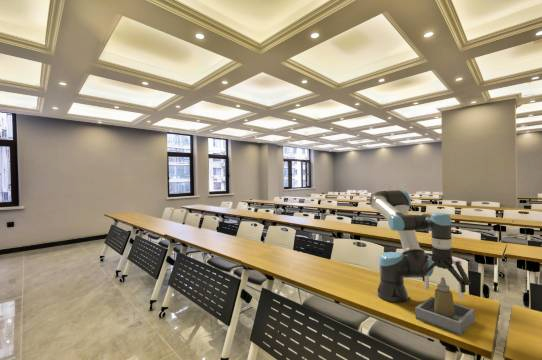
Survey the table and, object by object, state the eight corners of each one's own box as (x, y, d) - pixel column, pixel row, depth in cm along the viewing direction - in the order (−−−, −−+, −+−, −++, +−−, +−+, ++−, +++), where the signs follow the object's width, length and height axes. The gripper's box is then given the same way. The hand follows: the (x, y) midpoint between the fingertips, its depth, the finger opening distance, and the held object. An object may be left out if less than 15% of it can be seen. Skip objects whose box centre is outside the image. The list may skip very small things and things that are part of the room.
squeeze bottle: (436, 321, 113) (434, 280, 114) (432, 312, 121) (430, 274, 121) (458, 323, 110) (456, 282, 111) (452, 314, 118) (450, 275, 118)
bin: (415, 318, 117) (415, 307, 117) (432, 306, 128) (431, 296, 128) (460, 335, 103) (460, 323, 103) (474, 321, 114) (474, 309, 114)
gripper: (409, 243, 124) (410, 287, 124) (472, 254, 104) (474, 307, 104) (416, 241, 128) (418, 283, 128) (478, 251, 108) (480, 301, 108)
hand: (443, 294), depth 116 cm, fingers open, 13 cm apart
